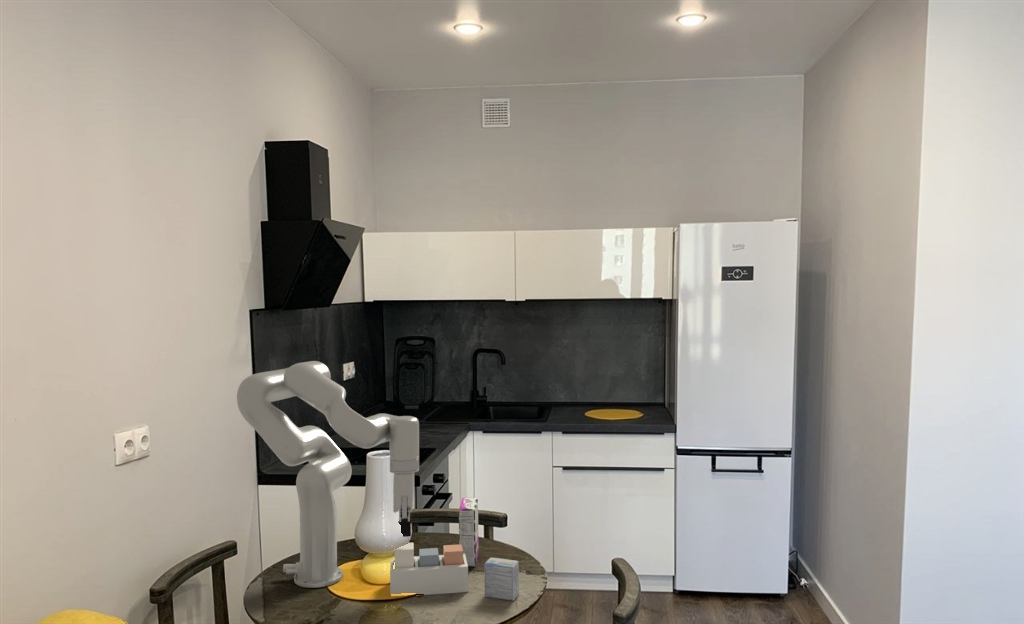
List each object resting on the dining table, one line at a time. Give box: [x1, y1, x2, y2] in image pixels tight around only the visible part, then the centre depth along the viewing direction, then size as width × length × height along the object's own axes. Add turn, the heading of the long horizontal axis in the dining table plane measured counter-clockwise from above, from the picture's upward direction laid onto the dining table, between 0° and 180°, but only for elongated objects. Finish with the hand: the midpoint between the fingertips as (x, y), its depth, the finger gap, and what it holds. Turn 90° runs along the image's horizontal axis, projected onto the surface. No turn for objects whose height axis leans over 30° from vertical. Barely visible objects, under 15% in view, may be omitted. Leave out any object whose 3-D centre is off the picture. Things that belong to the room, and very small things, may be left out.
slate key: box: [418, 547, 440, 567], centre depth 172 cm, size 5×5×6 cm
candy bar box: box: [458, 497, 480, 568], centre depth 191 cm, size 11×5×16 cm, turn 179°
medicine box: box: [483, 556, 520, 602], centre depth 167 cm, size 8×4×9 cm, turn 71°
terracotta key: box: [442, 543, 463, 566], centre depth 173 cm, size 5×5×6 cm
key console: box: [389, 554, 469, 596], centre depth 172 cm, size 20×9×6 cm, turn 99°
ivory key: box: [394, 542, 415, 568], centre depth 171 cm, size 5×5×6 cm
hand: (404, 535), depth 171 cm, fingers closed
